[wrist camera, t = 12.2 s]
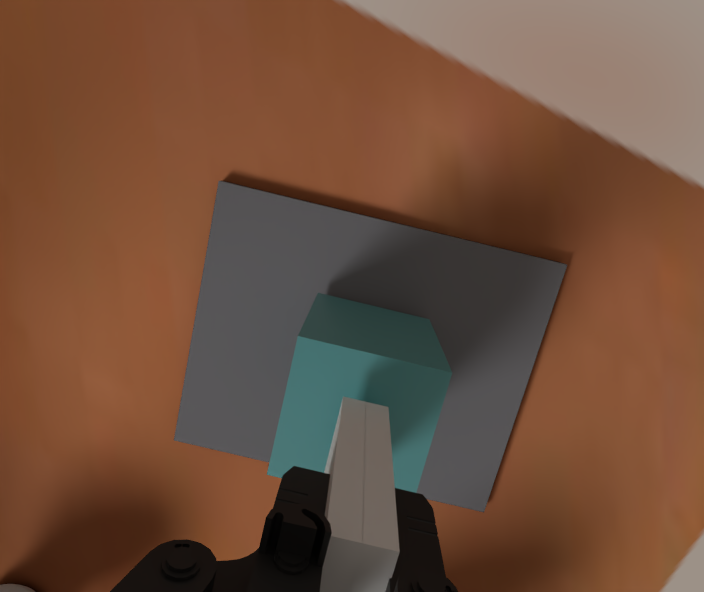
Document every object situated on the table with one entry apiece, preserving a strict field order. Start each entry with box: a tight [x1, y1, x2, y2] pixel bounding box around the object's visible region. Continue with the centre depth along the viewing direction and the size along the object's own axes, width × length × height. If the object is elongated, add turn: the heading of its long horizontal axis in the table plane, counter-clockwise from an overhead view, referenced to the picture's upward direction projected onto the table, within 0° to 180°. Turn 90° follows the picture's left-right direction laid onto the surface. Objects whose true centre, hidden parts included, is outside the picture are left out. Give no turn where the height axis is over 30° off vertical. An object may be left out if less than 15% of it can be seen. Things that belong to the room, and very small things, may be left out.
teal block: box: [267, 293, 452, 493], centre depth 20 cm, size 5×5×7 cm
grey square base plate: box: [174, 181, 567, 512], centre depth 21 cm, size 16×13×7 cm
